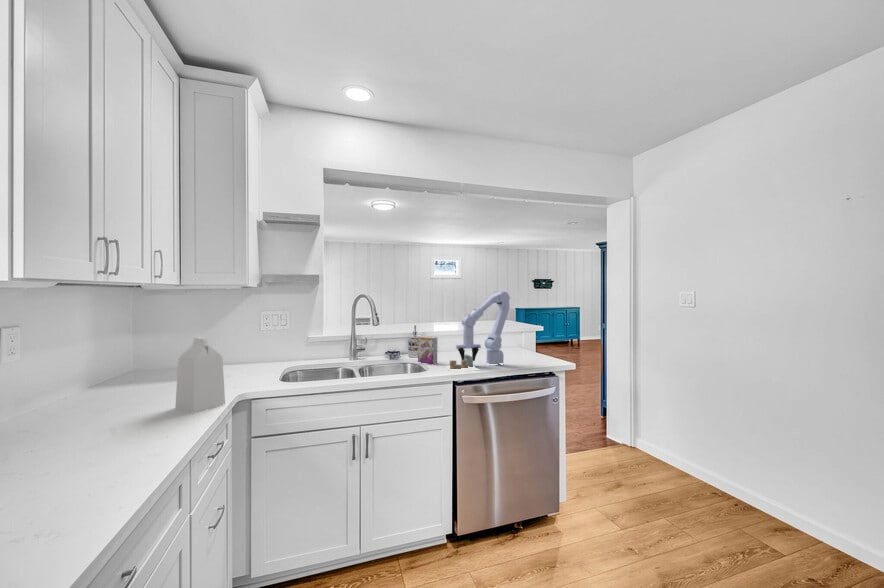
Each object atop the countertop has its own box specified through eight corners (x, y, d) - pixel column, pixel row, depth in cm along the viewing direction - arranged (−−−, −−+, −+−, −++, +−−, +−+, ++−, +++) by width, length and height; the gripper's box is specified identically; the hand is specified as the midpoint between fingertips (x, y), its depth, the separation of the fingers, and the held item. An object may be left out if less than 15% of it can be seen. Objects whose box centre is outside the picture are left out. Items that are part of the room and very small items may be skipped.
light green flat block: (466, 364, 220) (466, 354, 220) (472, 368, 210) (472, 357, 210) (463, 364, 219) (463, 354, 219) (469, 368, 210) (469, 357, 210)
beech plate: (466, 368, 208) (466, 359, 208) (467, 369, 207) (467, 360, 207) (449, 369, 206) (449, 360, 205) (450, 370, 204) (450, 361, 204)
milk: (175, 408, 140) (175, 338, 140) (206, 400, 150) (206, 335, 150) (193, 413, 134) (193, 341, 134) (225, 404, 145) (225, 337, 144)
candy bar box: (417, 363, 225) (417, 336, 224) (422, 362, 229) (422, 335, 229) (433, 366, 219) (433, 338, 218) (437, 364, 223) (437, 337, 223)
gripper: (458, 338, 208) (458, 363, 209) (482, 337, 213) (482, 361, 213) (454, 337, 215) (454, 360, 215) (478, 336, 219) (477, 359, 220)
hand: (468, 361), depth 215 cm, fingers open, 6 cm apart
